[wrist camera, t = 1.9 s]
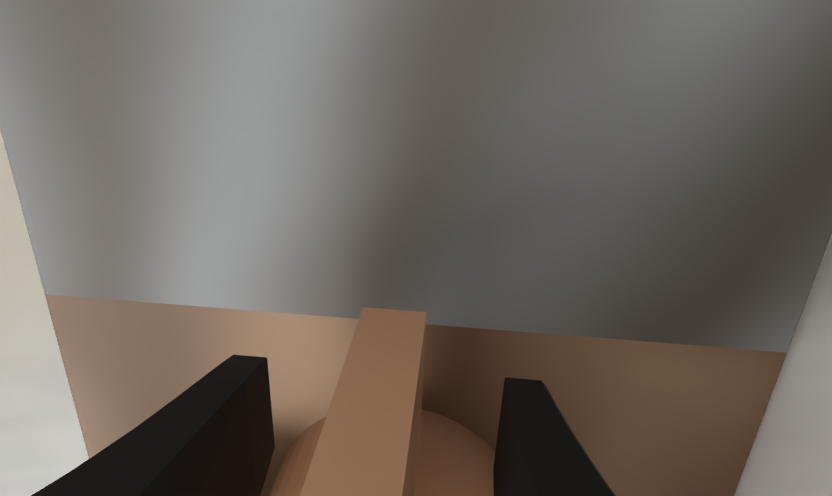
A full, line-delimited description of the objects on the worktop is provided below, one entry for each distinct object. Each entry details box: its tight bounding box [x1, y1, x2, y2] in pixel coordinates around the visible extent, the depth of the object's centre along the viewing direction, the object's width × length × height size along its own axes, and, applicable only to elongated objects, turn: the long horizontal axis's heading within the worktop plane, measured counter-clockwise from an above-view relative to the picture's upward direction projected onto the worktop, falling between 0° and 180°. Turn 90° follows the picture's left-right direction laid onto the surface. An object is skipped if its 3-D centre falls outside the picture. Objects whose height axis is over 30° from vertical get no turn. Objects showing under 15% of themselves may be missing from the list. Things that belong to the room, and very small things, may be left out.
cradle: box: [0, 0, 832, 496], centre depth 11 cm, size 16×20×3 cm
